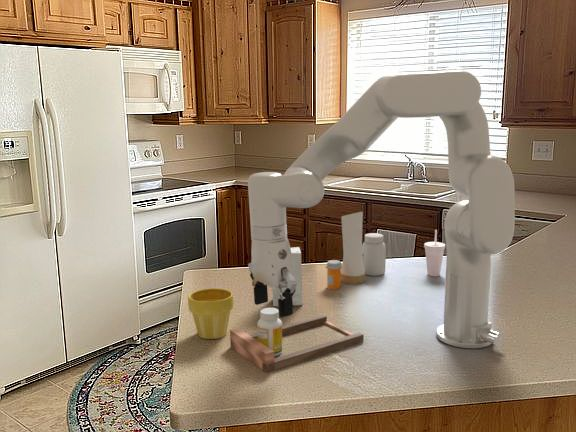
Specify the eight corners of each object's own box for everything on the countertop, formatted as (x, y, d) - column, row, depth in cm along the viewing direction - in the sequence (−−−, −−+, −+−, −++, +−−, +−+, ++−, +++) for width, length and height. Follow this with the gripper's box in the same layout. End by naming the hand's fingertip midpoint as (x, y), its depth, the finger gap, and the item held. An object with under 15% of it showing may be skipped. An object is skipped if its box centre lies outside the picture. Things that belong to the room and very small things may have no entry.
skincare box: (301, 298, 159) (301, 246, 156) (303, 306, 153) (302, 252, 150) (271, 299, 158) (270, 247, 156) (271, 307, 153) (270, 253, 150)
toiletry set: (370, 268, 186) (371, 205, 182) (390, 273, 181) (391, 208, 177) (319, 286, 169) (318, 217, 165) (338, 292, 164) (339, 221, 160)
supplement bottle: (258, 358, 123) (257, 316, 121) (257, 347, 128) (256, 307, 126) (283, 357, 123) (282, 314, 121) (281, 346, 128) (280, 305, 126)
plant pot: (204, 322, 142) (202, 285, 140) (241, 328, 138) (240, 290, 136) (181, 339, 133) (179, 298, 131) (220, 345, 129) (219, 304, 127)
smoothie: (446, 273, 180) (448, 229, 177) (440, 278, 174) (442, 233, 172) (427, 270, 183) (428, 227, 180) (420, 275, 178) (421, 231, 175)
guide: (363, 341, 131) (363, 324, 130) (266, 372, 116) (265, 353, 115) (323, 320, 143) (323, 305, 142) (230, 346, 128) (230, 330, 128)
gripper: (307, 235, 115) (311, 316, 119) (262, 222, 129) (266, 294, 133) (276, 242, 111) (281, 325, 115) (233, 228, 125) (238, 302, 129)
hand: (273, 309), depth 124 cm, fingers open, 9 cm apart
